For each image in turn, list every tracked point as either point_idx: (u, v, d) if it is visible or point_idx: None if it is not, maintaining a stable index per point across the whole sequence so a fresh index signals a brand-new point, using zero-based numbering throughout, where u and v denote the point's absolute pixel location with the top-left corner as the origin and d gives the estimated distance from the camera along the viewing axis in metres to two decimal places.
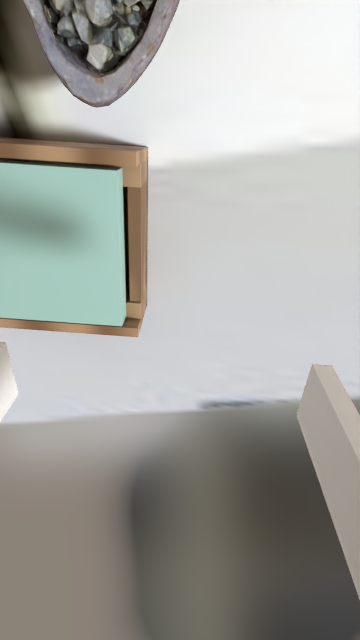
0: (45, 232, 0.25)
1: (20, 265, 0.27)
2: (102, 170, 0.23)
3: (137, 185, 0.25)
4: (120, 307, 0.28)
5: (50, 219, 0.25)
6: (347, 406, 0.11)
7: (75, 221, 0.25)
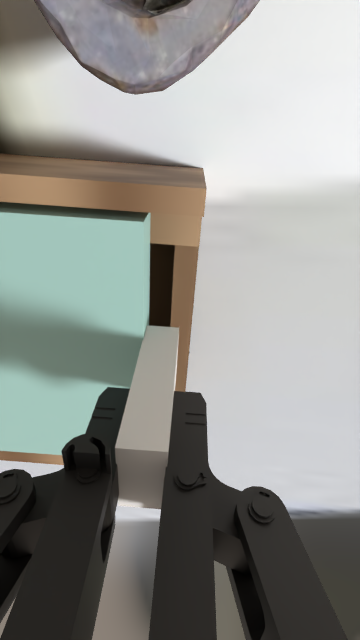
0: (8, 326, 0.14)
1: None
2: (115, 221, 0.11)
3: (194, 243, 0.14)
4: None
5: (15, 306, 0.13)
6: (170, 357, 0.13)
7: (62, 309, 0.13)
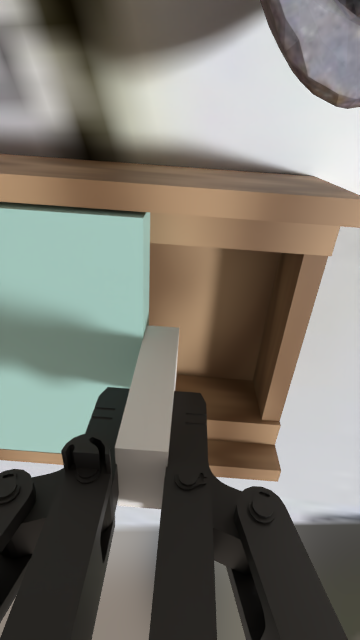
0: (7, 323, 0.14)
1: None
2: (114, 217, 0.11)
3: (327, 252, 0.14)
4: None
5: (15, 303, 0.13)
6: (170, 357, 0.13)
7: (62, 306, 0.13)
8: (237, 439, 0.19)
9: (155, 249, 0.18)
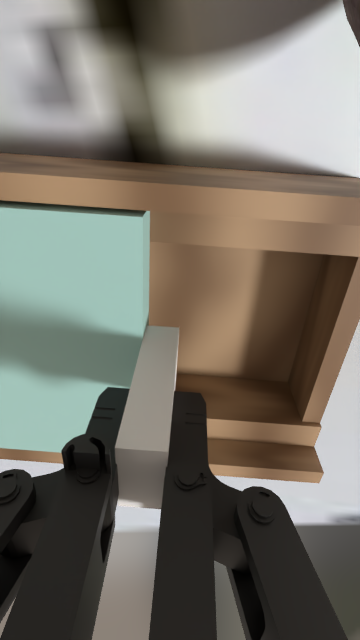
0: (7, 322, 0.14)
1: None
2: (114, 216, 0.11)
3: None
4: None
5: (14, 302, 0.13)
6: (170, 357, 0.13)
7: (61, 305, 0.13)
8: (276, 440, 0.19)
9: (198, 251, 0.18)
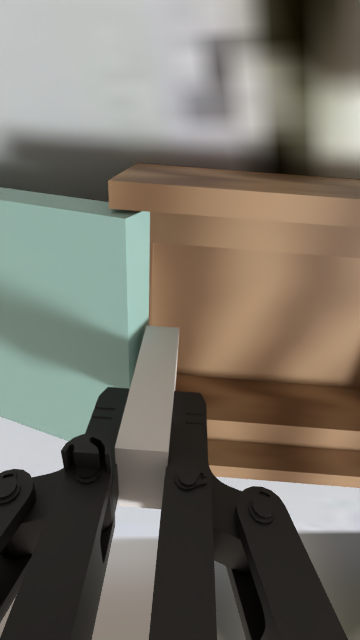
0: (15, 307, 0.15)
1: None
2: (99, 216, 0.11)
3: None
4: None
5: (20, 290, 0.14)
6: (170, 357, 0.13)
7: (57, 298, 0.14)
8: None
9: (332, 262, 0.18)
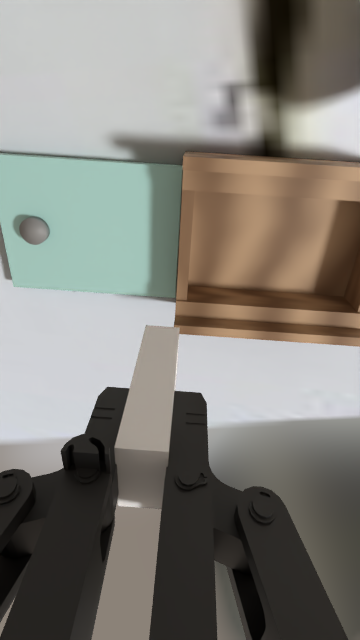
0: (119, 217, 0.31)
1: (95, 245, 0.32)
2: (171, 166, 0.28)
3: None
4: (175, 281, 0.34)
5: (124, 207, 0.30)
6: (170, 357, 0.13)
7: (145, 208, 0.30)
8: (341, 325, 0.32)
9: (297, 208, 0.30)
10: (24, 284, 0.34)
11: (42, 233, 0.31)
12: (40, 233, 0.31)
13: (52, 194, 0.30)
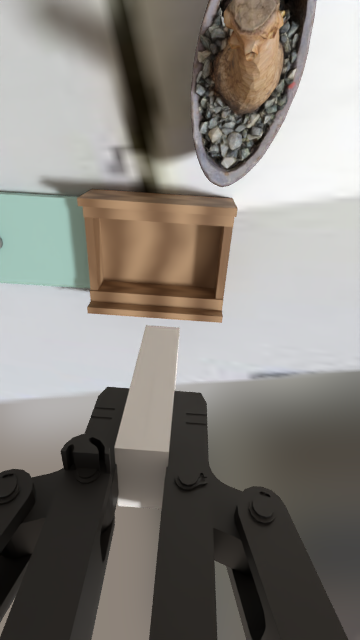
0: (49, 232, 0.45)
1: (35, 252, 0.46)
2: None
3: (231, 225, 0.40)
4: None
5: (52, 225, 0.44)
6: (170, 357, 0.13)
7: (66, 226, 0.44)
8: (205, 307, 0.46)
9: (171, 227, 0.44)
10: None
11: None
12: None
13: (2, 218, 0.44)
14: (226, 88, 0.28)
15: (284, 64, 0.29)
